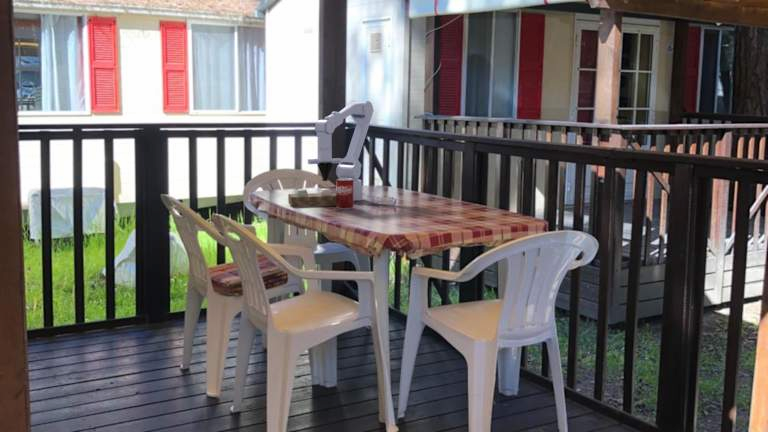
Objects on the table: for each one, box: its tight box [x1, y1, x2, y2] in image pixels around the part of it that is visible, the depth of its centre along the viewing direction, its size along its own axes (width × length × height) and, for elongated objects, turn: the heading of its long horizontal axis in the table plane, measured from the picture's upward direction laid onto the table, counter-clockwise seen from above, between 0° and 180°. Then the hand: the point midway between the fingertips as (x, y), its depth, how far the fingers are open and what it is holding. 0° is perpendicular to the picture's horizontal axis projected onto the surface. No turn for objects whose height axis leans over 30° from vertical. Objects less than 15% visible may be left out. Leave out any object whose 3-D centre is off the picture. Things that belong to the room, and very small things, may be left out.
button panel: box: [287, 192, 336, 208], centre depth 349 cm, size 20×10×4 cm, turn 104°
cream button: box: [318, 188, 332, 196], centre depth 350 cm, size 4×4×4 cm
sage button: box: [295, 189, 309, 196], centre depth 347 cm, size 4×4×4 cm
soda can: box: [335, 178, 355, 210], centre depth 338 cm, size 7×7×12 cm
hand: (325, 180), depth 349 cm, fingers closed
